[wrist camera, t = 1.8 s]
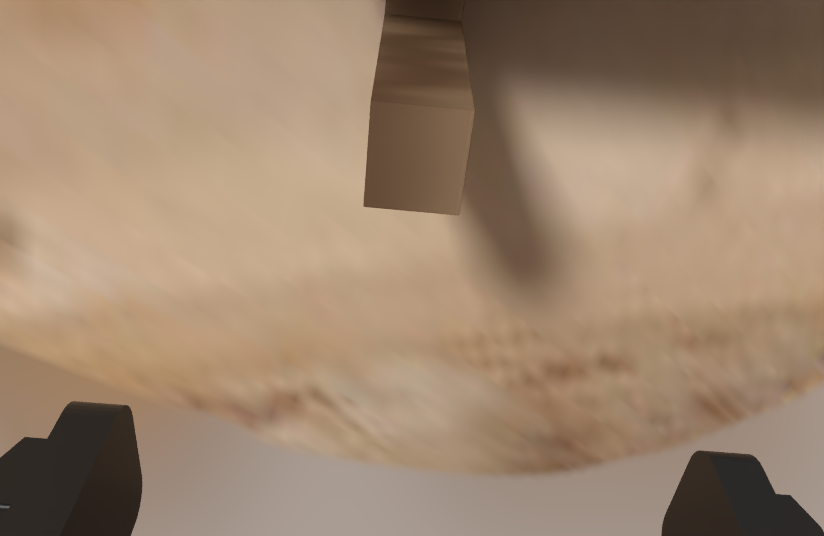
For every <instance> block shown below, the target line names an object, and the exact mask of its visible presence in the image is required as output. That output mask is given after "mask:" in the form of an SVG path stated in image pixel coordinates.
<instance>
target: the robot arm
mask: <svg viewBox="0 0 824 536" xmlns="http://www.w3.org/2000/svg"><path fill="white" fill-rule="evenodd" d="M141 494H142V474H141V467H140V461H139V454H138V448H137V441H136V435H135V429H134V422H133V415H132V411H131V409H130V407H129V406H127V405H116V404H103V403H89V402H76V401H73V402H70V403H69V404H68V405H67V406H66V407H65V409H64V410H63V412H62V413H61V415H60V417H59V419H58V421H57V422H56V424H55V426H54V428H53V430H52V432H51V433H50V435H49V437H48V439H43V438H29V437H25V438H23V439H22V440H21V441H20V442H18V443H17V444H16V445H15V446H14V447H12V448H11V449H10V450H9V451H8V452H7V453H5V454H4V455H3V456H2V457H1V458H0V536H131V533H132V531H133V528H134V525H135V522H136V519H137V516H138V512H139V508H140V502H141ZM662 536H824V532H823V530H822V528H821V527H820V526H819V525H818V524H817V523H816V522H815V520H814V519H813V518H811V516H810V515H809V514H808V513H807V512H806V511H805V510H804V509H803V508H802V507H801V506H800V505H799V504H798V503H797V502H796V501H795V500H794V499H793V498H792V497H791V496H790V495H780V494H775V492H774V490H773V488H772V486H771V484H770V482H769V480H768V478H767V476H766V473H765V471H764V469H763V468H762V466H761V464H760V462H759V461H758V460H757V459H756V458H755V457H754V456H752V455H750V454H738V453H724V452H710V451H697V452H695V453H694V454H693V455H692V457H691V459H690V461H689V463H688V465H687V467H686V469H685V472H684V474H683V476H682V478H681V481H680V483H679V485H678V487H677V490H676V492H675V494H674V496H673V499H672V501H671V503H670V505H669V508H668V510H667V512H666V514H665V517H664V521H663V526H662Z"/></svg>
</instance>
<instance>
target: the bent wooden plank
mask: <svg viewBox="0 0 824 536" xmlns="http://www.w3.org/2000/svg"><path fill="white" fill-rule="evenodd" d="M463 6H464V0H386V7H385V17H384V23H383V29H382V35H381V41H380V48H379V54H378V60H377V66H376V72H375V79H374V85H373V91H372V97H371V106H370V121H369V135H368V149H367V164H366V178H365V192H364V207H372V208H383V209H394V210H405V211H416V212H427V213H438V214H448V215H459V213H460V206H461V199H462V193H463V186H464V180H465V173H466V167H467V160H468V154H469V147H470V141H471V134H472V127H473V121H474V114H475V108H474V101H473V95H472V88H471V81H470V75H469V68H468V61H467V55H466V48H465V41H464V35H463V28H462V14H463Z"/></svg>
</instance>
